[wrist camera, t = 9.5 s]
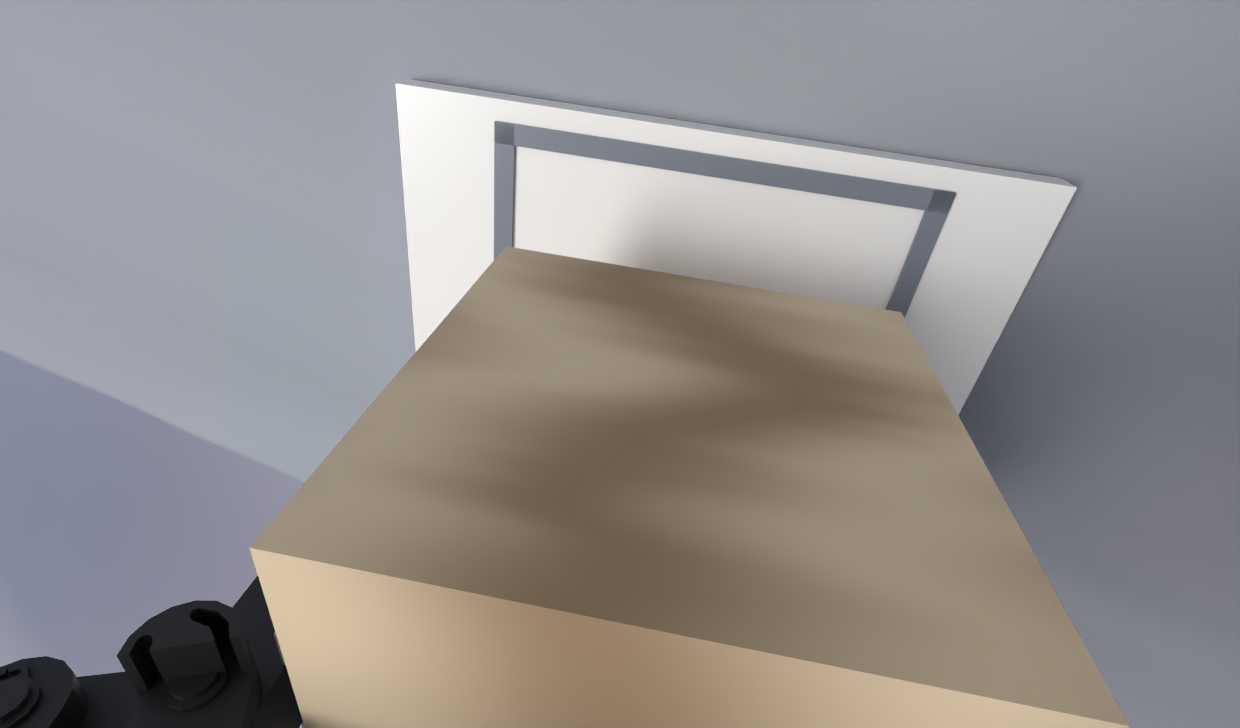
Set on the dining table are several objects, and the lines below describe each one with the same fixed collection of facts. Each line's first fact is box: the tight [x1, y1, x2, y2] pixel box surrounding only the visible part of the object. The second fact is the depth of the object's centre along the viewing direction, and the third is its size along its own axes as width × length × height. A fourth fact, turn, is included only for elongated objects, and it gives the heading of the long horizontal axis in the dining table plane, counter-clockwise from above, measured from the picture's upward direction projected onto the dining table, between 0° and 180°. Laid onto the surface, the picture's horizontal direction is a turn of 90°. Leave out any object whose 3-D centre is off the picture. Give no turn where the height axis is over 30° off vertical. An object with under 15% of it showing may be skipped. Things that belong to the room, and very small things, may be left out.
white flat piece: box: [396, 79, 1077, 415], centre depth 18 cm, size 16×12×1 cm
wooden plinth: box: [250, 246, 1130, 728], centre depth 11 cm, size 8×8×8 cm
